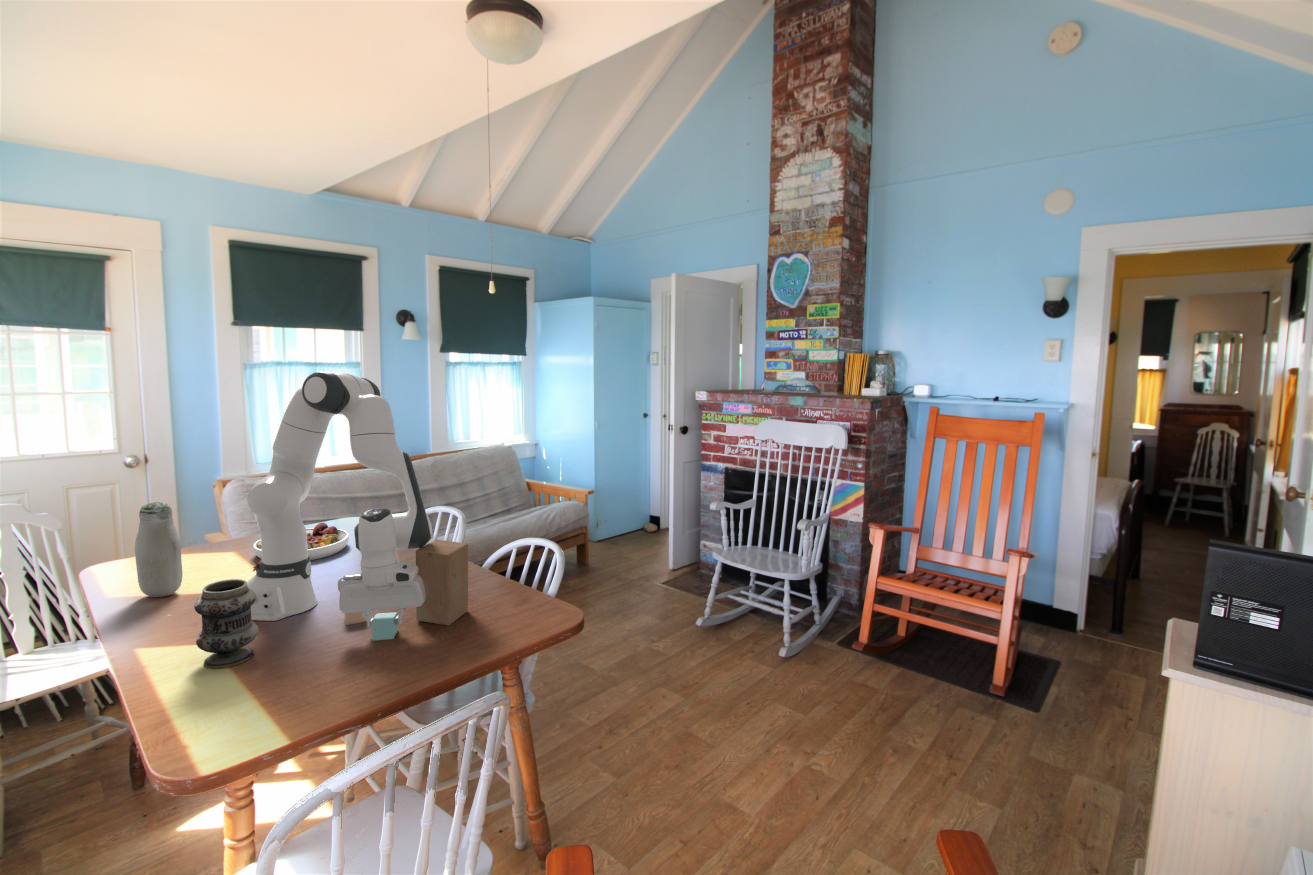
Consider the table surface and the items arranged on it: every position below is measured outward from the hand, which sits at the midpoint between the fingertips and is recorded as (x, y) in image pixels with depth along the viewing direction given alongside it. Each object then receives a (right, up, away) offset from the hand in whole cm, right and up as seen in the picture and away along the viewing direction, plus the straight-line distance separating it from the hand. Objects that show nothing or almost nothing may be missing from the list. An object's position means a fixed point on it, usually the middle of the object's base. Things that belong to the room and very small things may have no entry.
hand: (385, 624), depth 158 cm
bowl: (-59, +6, +66) cm, 89 cm away
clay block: (-12, -2, +9) cm, 15 cm away
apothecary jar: (-31, -4, -13) cm, 34 cm away
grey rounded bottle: (-76, +1, +24) cm, 80 cm away
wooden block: (+11, -1, +12) cm, 16 cm away
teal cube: (0, -3, 0) cm, 3 cm away
